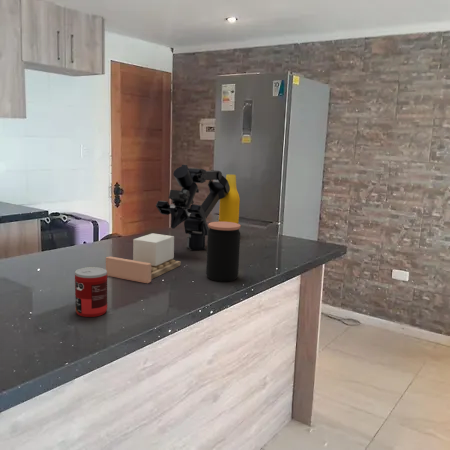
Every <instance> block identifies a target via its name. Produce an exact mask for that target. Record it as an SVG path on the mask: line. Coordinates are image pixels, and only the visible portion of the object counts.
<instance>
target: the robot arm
mask: <svg viewBox="0 0 450 450" xmlns="http://www.w3.org/2000/svg"><path fill="white" fill-rule="evenodd" d="M173 177H174V179H175V181H176V182H177V184H178V186H179V187H181V188H180V190H176V189H170V190H169V194H168V199H170V200H172V201H171V203H172V204H170V203H169V202H168V201H167V200H166V201H165V200H158V201H157V202H156V204H155V207H156V209H157V210H158V211H159V213H160V215H166V216H169V215H170V216H171V217H170V218H171V219H170V228H171V229H176V228H177V227H178V226H179V225H181V224H182V223H183V227H184V233H185V234H187V235H188V236H187V239H186V247H187V248H188V249H189V250H190V251H202V250H204V251H205V250H206V251H207V247H206V236H208V230H209V227H208V224H207V219H208V217H209V215H210V214H211V212H212V211H213V209H214V208H215V206H216V205H217V203H218V202H219V201H220V199H222V198H224V197H225V196H226V195H227V194H228V193H229V191H230V186H229V183H228V181H227V179H226V177H225V176H224V175H223V174H222V171H220V170H214V169H210V170H206V169H204V168H197V167H189V166H188V165H187V164H181V166H180V167H177V168H176V169H175V170H173ZM206 181H208V183H207V186H208V189H209V194H208V195H207V196H206V198H205V199H204V200H203V202H202V203H201V204H196V203H195V204H194V202H195V201H194V198H195V195H196V194H198V193H200V189H199V187H198V185H197V184H203V183H205V182H206Z"/></svg>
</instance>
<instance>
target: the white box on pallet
mask: <svg viewBox="0 0 450 450" xmlns="http://www.w3.org/2000/svg"><path fill="white" fill-rule="evenodd" d="M132 241H133V243H132V246H133V247H132V250H133V251H132V252H133V253H132V260H134V261H140V262H146V263H151V265H152V266H157V265H159V264H162V263H164V262H166V261H168V260H171V259H173V260H174V257H175V254H174V253H175V236H174V235H166V234H159V233H152V232H151V233H149V234H146V235H142V236H139V237H137V238H133V239H132Z"/></svg>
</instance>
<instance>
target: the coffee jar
mask: <svg viewBox="0 0 450 450" xmlns="http://www.w3.org/2000/svg"><path fill="white" fill-rule="evenodd" d="M207 226H208V228H209V230H208V235H207V245H206V270H205V271H206V276H207V278H208V279H209V280H211V281H214V282H215V281H216V282H220V283H222V282H226V283H227V282H233V281H235V280H236V279H237V278H238V276H239V268H240V267H239V265H240V246H241V245H240V244H241V232H240V229H241V226H242V225H241V224H240V223H238V224H237V223H233V222H219V221H211V222H209V223H208V224H207Z"/></svg>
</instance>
